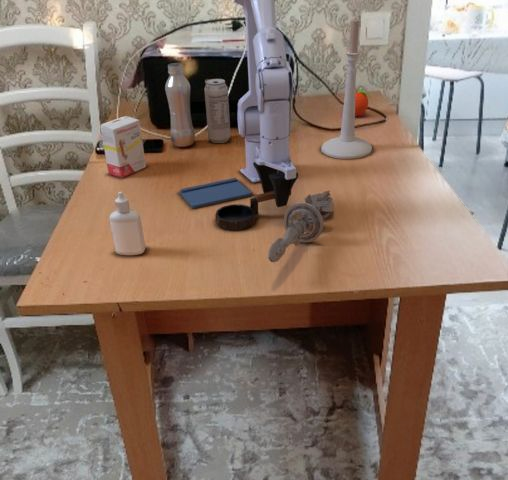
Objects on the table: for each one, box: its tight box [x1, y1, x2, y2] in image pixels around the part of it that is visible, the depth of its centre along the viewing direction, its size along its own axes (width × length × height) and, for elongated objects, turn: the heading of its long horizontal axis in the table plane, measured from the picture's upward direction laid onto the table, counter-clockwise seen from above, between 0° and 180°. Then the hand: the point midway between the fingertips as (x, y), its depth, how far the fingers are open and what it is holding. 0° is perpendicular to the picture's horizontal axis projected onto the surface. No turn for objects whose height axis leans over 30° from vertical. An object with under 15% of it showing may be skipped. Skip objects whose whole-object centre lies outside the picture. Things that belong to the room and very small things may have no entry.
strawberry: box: [355, 89, 373, 117], centre depth 171 cm, size 8×7×7 cm
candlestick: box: [321, 17, 373, 160], centre depth 143 cm, size 13×13×30 cm
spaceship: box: [267, 190, 334, 263], centre depth 112 cm, size 8×35×8 cm
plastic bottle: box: [164, 62, 196, 148], centre depth 152 cm, size 6×7×20 cm
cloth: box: [178, 177, 253, 209], centre depth 133 cm, size 14×9×1 cm, turn 114°
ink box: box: [100, 115, 147, 179], centre depth 142 cm, size 9×5×12 cm, turn 143°
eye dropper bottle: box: [108, 191, 146, 256], centre depth 110 cm, size 4×6×12 cm
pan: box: [214, 191, 292, 232], centre depth 122 cm, size 16×8×4 cm, turn 114°
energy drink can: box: [204, 78, 231, 144], centre depth 156 cm, size 6×6×15 cm
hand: (275, 200), depth 123 cm, fingers open, 5 cm apart
